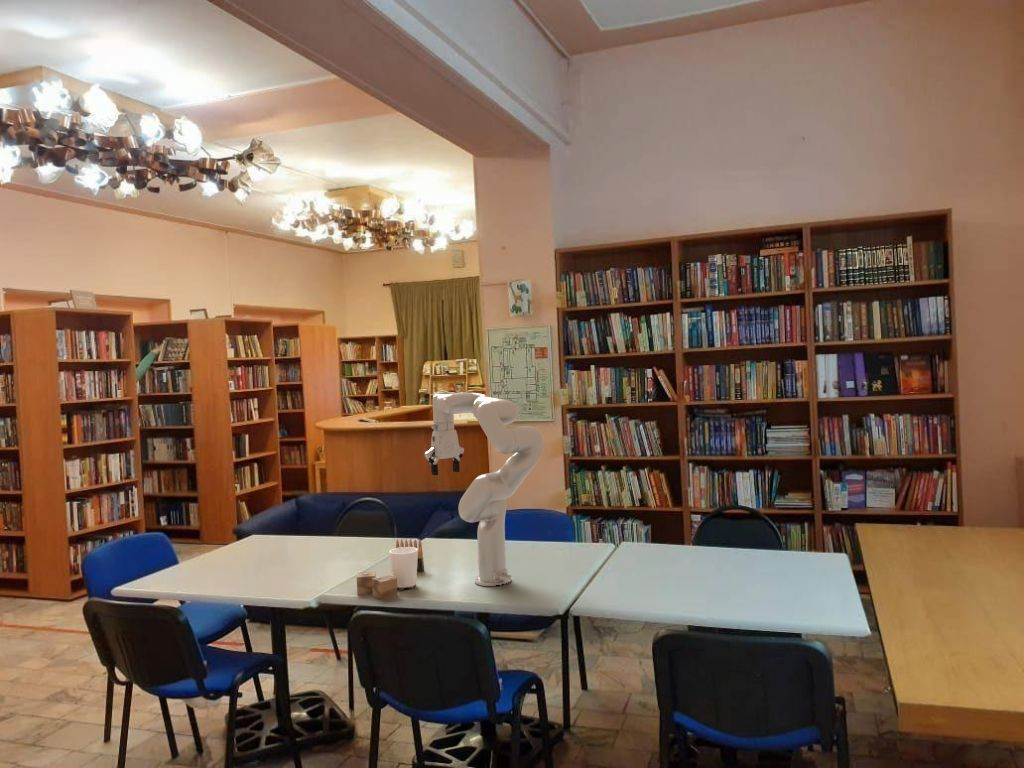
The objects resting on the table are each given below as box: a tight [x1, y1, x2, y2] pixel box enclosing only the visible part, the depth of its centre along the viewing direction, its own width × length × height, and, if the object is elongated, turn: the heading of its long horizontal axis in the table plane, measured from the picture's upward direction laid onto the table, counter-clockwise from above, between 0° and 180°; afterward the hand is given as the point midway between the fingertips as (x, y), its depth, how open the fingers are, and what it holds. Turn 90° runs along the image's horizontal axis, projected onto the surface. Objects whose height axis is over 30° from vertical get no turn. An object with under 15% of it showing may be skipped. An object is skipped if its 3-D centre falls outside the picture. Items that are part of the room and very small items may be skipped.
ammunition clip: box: [395, 538, 425, 573], centre depth 276 cm, size 11×2×12 cm, turn 78°
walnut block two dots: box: [372, 574, 398, 601], centre depth 246 cm, size 6×6×6 cm
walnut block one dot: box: [356, 571, 377, 596], centre depth 252 cm, size 6×6×6 cm
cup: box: [389, 546, 418, 591], centre depth 255 cm, size 10×10×13 cm
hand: (445, 473), depth 274 cm, fingers open, 9 cm apart
